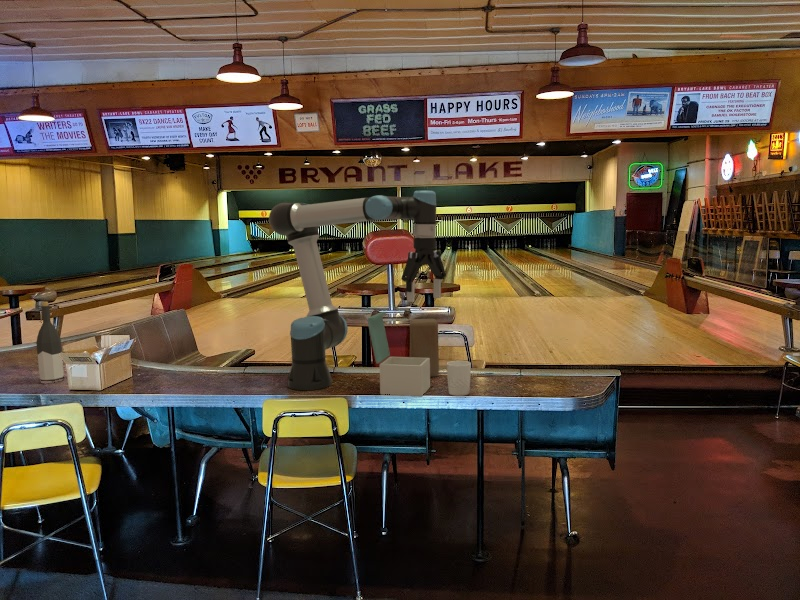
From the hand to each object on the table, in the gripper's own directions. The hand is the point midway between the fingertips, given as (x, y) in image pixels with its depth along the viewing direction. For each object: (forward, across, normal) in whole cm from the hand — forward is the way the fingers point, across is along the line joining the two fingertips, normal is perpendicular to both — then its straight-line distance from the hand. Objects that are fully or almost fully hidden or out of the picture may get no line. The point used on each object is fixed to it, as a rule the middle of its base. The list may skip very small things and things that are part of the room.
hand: (424, 299), depth 216 cm
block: (+30, +10, +8) cm, 33 cm away
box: (+29, -11, -2) cm, 31 cm away
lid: (+11, -14, +5) cm, 19 cm away
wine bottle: (+34, -83, +112) cm, 143 cm away
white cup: (+29, -2, -17) cm, 34 cm away
